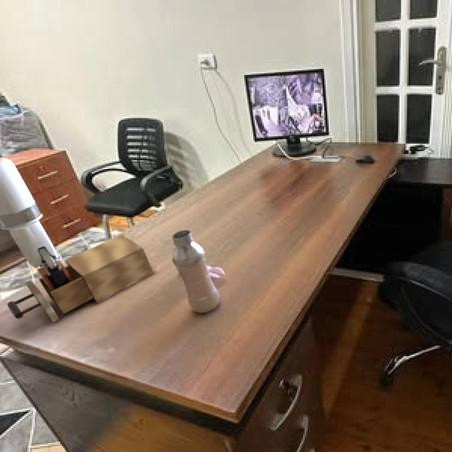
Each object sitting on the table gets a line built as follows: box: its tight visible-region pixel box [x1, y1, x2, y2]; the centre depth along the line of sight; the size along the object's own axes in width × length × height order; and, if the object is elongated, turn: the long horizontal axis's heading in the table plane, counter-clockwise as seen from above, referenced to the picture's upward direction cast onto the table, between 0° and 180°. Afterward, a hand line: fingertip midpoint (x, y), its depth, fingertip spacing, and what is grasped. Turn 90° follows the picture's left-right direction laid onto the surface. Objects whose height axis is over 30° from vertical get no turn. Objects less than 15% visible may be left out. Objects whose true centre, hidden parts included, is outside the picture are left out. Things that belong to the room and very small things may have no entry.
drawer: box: [6, 265, 94, 323], centre depth 85 cm, size 18×11×7 cm, turn 141°
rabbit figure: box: [178, 265, 225, 279], centre depth 91 cm, size 6×6×15 cm
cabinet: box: [64, 234, 154, 304], centre depth 93 cm, size 15×13×9 cm
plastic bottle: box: [171, 229, 220, 314], centre depth 78 cm, size 6×7×20 cm
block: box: [36, 259, 72, 290], centre depth 84 cm, size 4×4×4 cm
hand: (58, 281), depth 85 cm, fingers closed on block, 4 cm apart
